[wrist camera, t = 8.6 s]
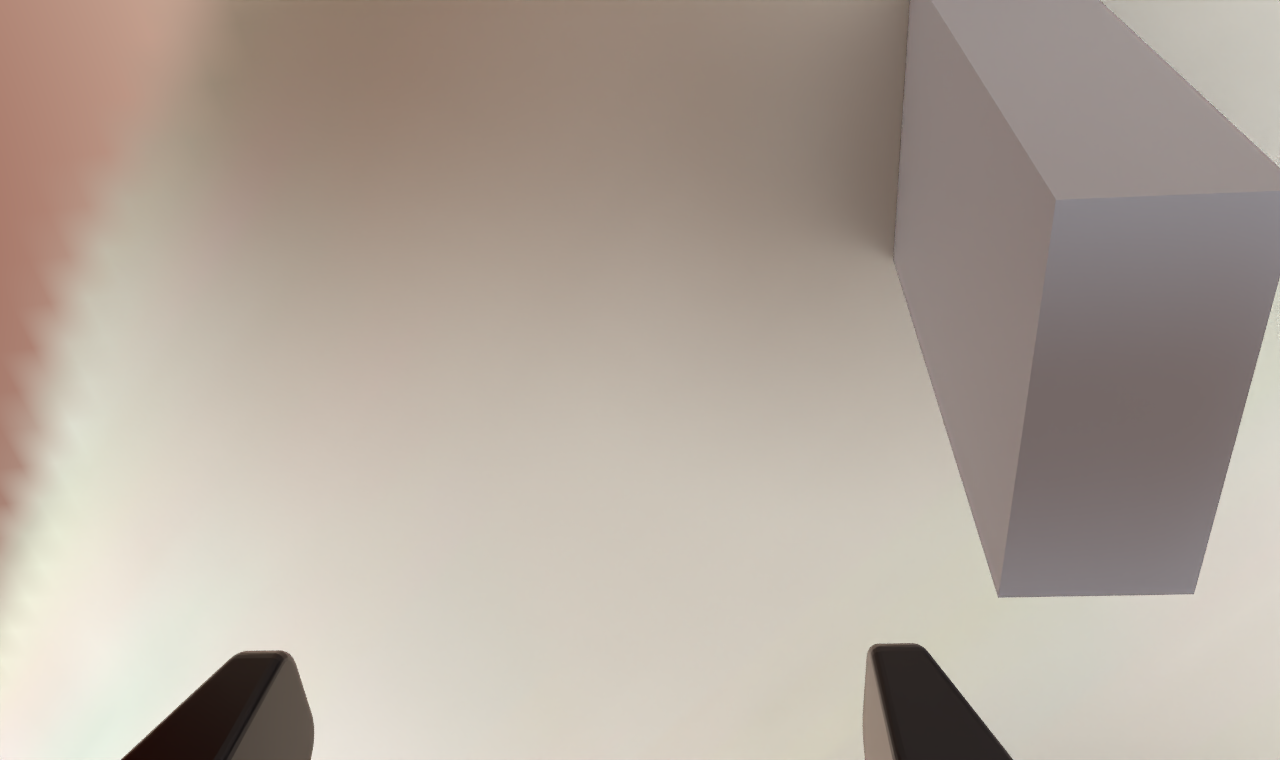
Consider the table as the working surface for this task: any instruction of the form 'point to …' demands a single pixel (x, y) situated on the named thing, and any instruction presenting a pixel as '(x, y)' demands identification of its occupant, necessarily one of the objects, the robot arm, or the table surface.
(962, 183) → the slate domino
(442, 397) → the table surface
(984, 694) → the table surface
